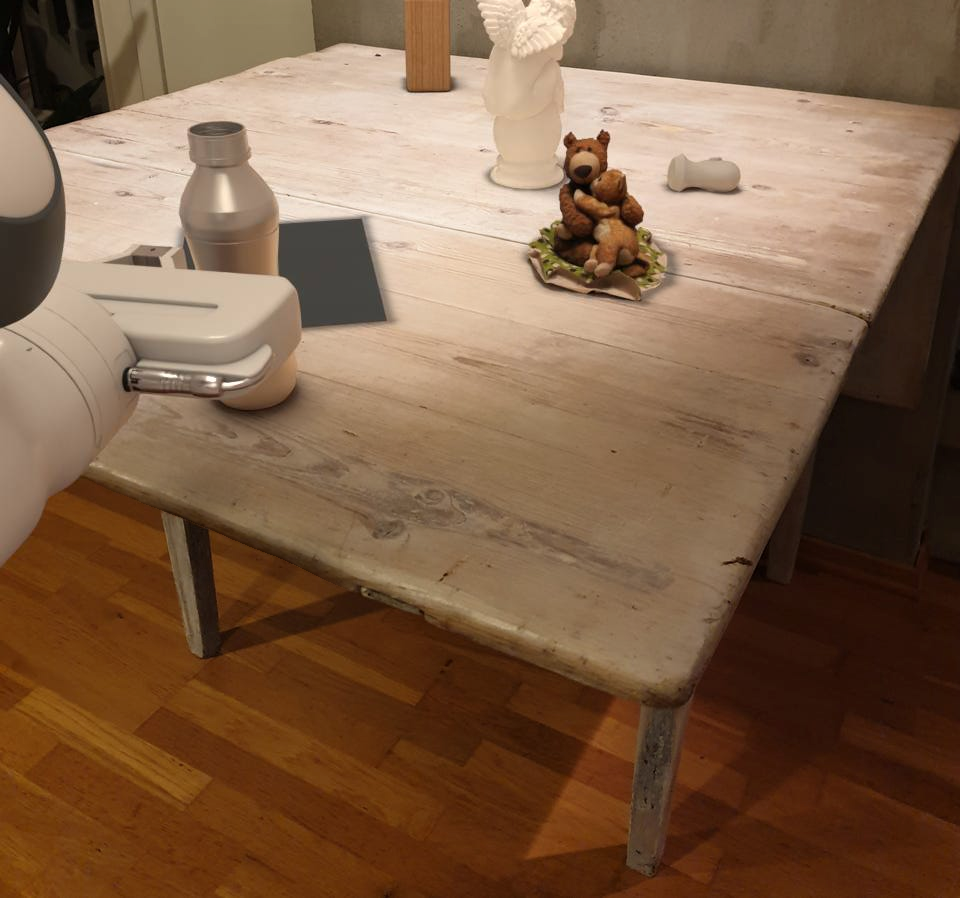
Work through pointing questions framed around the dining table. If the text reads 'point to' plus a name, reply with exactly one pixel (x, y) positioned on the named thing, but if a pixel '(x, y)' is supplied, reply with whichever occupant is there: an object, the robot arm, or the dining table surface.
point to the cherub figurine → (526, 87)
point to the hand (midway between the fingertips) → (162, 257)
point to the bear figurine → (597, 229)
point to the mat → (327, 272)
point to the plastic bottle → (233, 227)
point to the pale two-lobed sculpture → (703, 174)
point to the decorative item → (427, 45)
